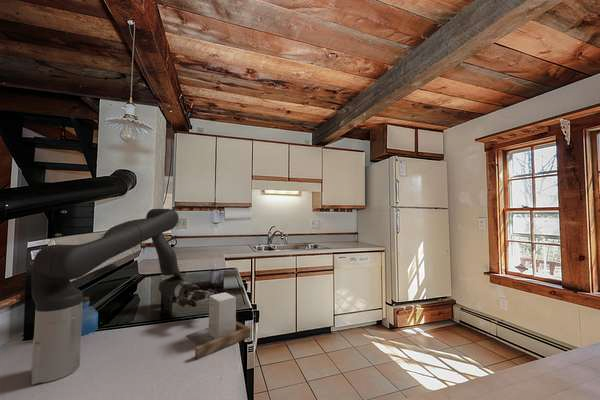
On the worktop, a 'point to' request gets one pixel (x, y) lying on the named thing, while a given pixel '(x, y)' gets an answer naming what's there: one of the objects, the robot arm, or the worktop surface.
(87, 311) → the perfume bottle
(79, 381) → the worktop surface
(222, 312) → the small box
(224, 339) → the wooden tray
